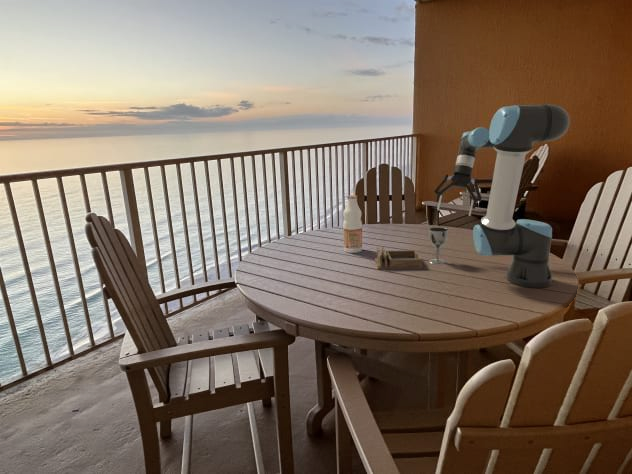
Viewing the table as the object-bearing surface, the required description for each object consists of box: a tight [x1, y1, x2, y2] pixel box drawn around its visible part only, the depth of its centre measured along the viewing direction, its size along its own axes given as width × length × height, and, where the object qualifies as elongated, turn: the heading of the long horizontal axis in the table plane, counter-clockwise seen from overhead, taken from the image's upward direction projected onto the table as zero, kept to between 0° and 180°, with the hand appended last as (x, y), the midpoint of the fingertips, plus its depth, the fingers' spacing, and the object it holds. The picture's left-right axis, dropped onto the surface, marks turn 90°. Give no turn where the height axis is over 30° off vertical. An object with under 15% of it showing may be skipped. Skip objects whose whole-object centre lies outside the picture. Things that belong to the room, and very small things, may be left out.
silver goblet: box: [428, 226, 449, 265], centre depth 169 cm, size 8×8×15 cm
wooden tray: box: [374, 246, 423, 270], centre depth 169 cm, size 14×19×6 cm
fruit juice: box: [342, 194, 363, 254], centre depth 189 cm, size 9×9×28 cm
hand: (453, 212), depth 170 cm, fingers open, 13 cm apart
